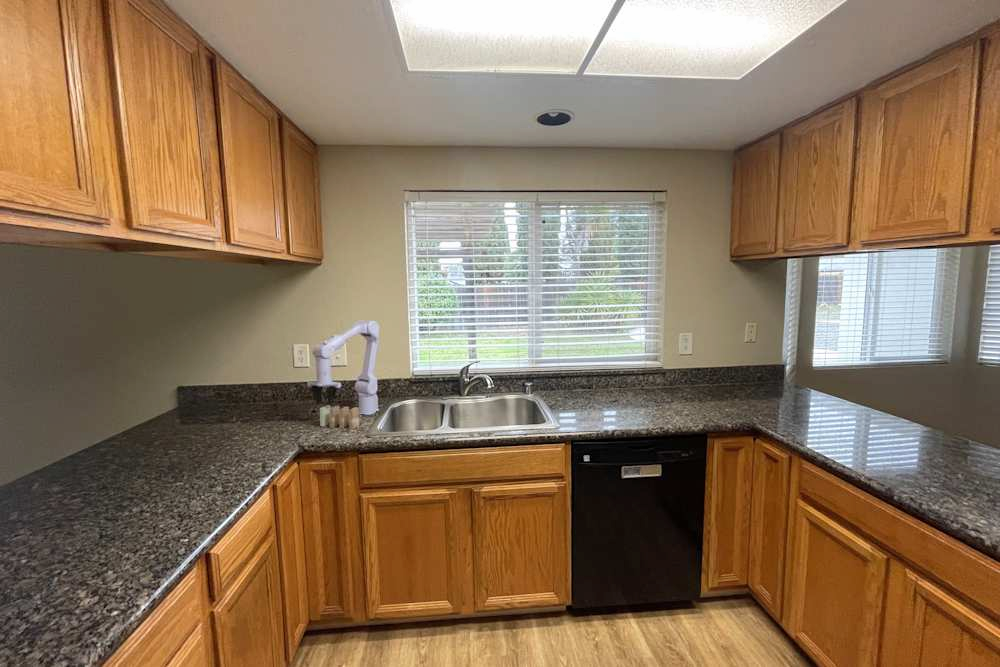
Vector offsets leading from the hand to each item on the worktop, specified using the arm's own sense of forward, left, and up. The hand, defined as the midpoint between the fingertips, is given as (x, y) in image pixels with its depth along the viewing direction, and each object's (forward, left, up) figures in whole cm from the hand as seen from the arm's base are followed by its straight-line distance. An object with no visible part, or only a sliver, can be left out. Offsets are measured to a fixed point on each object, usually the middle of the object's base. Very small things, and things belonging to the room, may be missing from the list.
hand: (324, 403), depth 179 cm
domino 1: (0, 0, -10) cm, 10 cm away
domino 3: (0, +9, -10) cm, 13 cm away
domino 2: (0, +4, -10) cm, 11 cm away
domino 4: (0, +13, -10) cm, 17 cm away
